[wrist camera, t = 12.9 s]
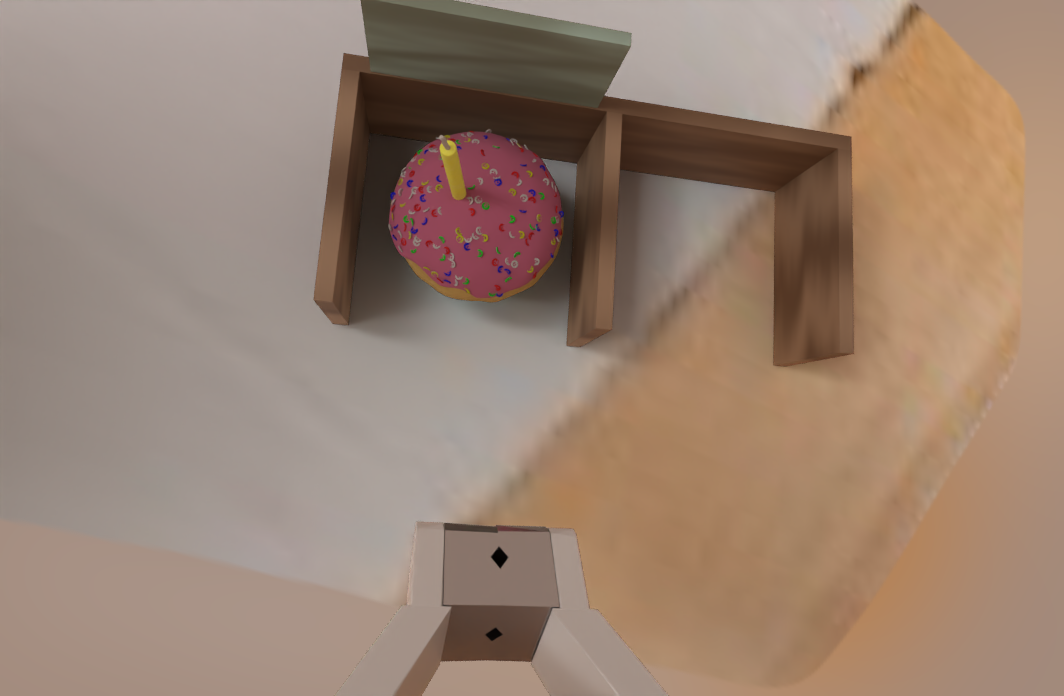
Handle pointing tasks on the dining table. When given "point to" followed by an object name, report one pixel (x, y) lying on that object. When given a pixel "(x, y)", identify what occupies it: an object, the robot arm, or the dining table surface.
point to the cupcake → (477, 216)
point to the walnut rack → (585, 155)
